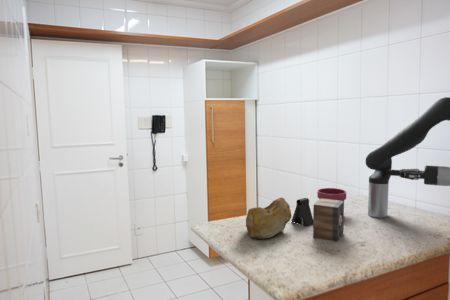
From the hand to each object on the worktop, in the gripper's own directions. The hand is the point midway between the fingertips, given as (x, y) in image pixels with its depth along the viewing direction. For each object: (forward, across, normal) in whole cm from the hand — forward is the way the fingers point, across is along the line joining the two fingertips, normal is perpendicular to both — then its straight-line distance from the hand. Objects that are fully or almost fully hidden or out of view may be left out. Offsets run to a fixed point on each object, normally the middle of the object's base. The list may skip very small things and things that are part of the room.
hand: (388, 172), depth 137 cm
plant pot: (+28, -22, +28) cm, 45 cm away
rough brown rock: (+48, +18, +28) cm, 59 cm away
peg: (+22, +9, +23) cm, 33 cm away
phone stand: (+37, -2, +28) cm, 47 cm away
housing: (+22, +9, +28) cm, 37 cm away
